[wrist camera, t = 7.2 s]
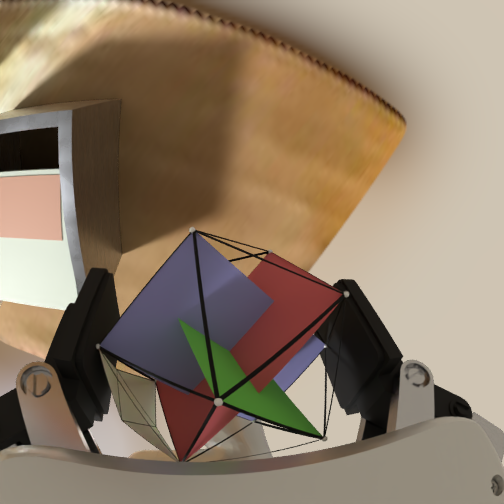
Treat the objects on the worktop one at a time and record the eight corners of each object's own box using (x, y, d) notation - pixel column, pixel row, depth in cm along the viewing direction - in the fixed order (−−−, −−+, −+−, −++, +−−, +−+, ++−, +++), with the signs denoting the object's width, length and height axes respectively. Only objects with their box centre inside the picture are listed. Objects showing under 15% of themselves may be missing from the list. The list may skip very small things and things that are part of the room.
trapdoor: (74, 167, 21) (69, 168, 20) (83, 306, 26) (79, 312, 25) (-21, 173, 19) (-27, 175, 18) (-6, 294, 23) (-10, 298, 22)
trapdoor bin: (121, 98, 27) (72, 109, 16) (122, 254, 38) (97, 325, 26) (12, 109, 24) (-56, 134, 12) (28, 248, 34) (-13, 307, 23)
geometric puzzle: (294, 135, 7) (122, 511, 2) (396, 289, 10) (341, 509, 6) (154, 214, 12) (54, 389, 7) (258, 303, 15) (198, 450, 11)
